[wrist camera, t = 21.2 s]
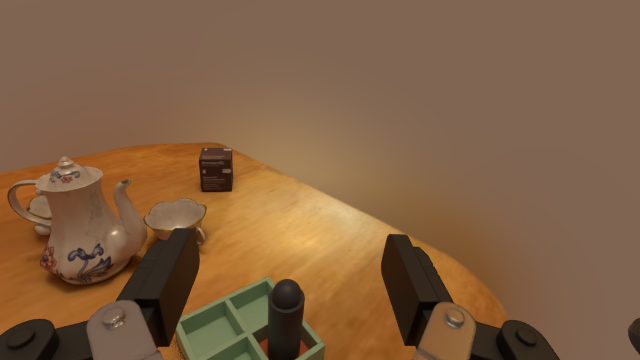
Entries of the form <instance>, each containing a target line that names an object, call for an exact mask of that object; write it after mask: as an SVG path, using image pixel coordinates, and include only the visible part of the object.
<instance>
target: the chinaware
mask: <svg viewBox="0 0 640 360" xmlns="http://www.w3.org/2000/svg"><path fill="white" fill-rule="evenodd" d="M73 163H74V161H72V160H69V158H67V157H62V158H61V159H60V162H59V163H58V167H56V168H55V169H54V170H53V171H52V172H51V173H49V174H47V175H44V176H42V177H41V178H40V179H39V180H23V181H20V182H18V183H16V184H14V185H13V186H11V188H10V189H9V191H8V194H7V198H8V202H9V204H10V206H11V207H12V209H13V210H14V211H15V212H16V213H17V214H19V215H20V216H21V217H23V218H25V219H27V220H29V221H32V222H35V223H39V224H38V225H36V226H35V227H34V229H35V231H36V232H37V233H38V234H41V235H49V234H50V238H49V241H48V243H47V245H46V247H45V249H44V252H43V254H42V256H41V259H40V266H41V267H42V268H43V269H45V270H47V271H50V272H52V273H54V274H56V275H59V276H60V278H61V279H62V280H63V281H64V282H66V283H68V284H72V285H89V284H94V283H98V282H101V281H104V280H106V279H109V278H111V277H113V276H114V275H116V274H118V273H119V272H120V271H122V270H123V269H124V268H125V267H126V266H127V265H128V264H129V262H130V260H131V257H132V256H133V255H134V254H135V253H137V252H138V251H139V249H140V248H141V247H142V246H143V244H144V243H145V241H146V239H147V229H146V225H147V226H148V227H150V228H151V229H152V230H153V231H154V233H155V235H156V236H157V237H158V238H160V239H161V240H168V238H169V236H170V235H171V233H172V231H173V230H174V228H195V229H196V233H197V232H198V231H199V232H200V234H201V236H202V238H203V242H202V243H200V242H198V245H203V244H204V243H205V241H206V236H205V233H204V231H203V230H202V229H201V228H200V226H201V222H202V219H203V218H204V216H205V213H206V209H207V207H206V206H204V205H203V204H197V203H196V202H195V201H193V200H192V199H188V198H181V199H178V200H176V201H174V202H172V203H171V202H161V203H157V204H155V205H154V206H153V207H152V208H151V210H150V212H149V214H150V215H149V214H148V215H146V216H144V219H142V217H141V216H140V214H139V213H138V211H137V210H136V208H135V207H134V205H133V204H132V202H131V201H130V199H129V197H128V195H127V193H126V189H127V187H128V185H129V184H130V183H131V181H130V180H123V181H121V182H120V183H118V184H117V185H116V186H115V188H114V200H115V203H116V206H117V209H118V212H119V214H120V217H121V218H119V217H118V216H117V215H116V214H115V213H114V212H113V210H112V209H111V208H110V206H109V205H108V203H107V202H106V200H105V197H104V195H103V192H102V188H101V177H102V175H103V174H102V171H101V170H99V169H97V168H91V167H83V166H81V165H79V164H73ZM25 185H35V186H36V187H37V188H38V189H36V190H35V192H36V194H38V195H45V196H38V197H36V198H33V199H32V200H31V201H30V203H29V206H28V207H27V211H26V210H25V209H24V208H23V207H22V206H21V205H20V204H19V202H18V200H17V198H16V190H17V189H18V188H19V187H21V186H25ZM145 224H146V225H145Z"/></svg>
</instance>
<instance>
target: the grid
mask: <svg viewBox="0 0 640 360" xmlns="http://www.w3.org/2000/svg"><path fill="white" fill-rule="evenodd" d="M274 286H275V284H274V283H273V282H272V280H271V279H270V278H269V277H268V276H267V277H265V278H263V279H261V280H259V281H257V282H255V283H252V284H250V285H248V286H246V287H244V288H242V289H240V290H238V291H235V292H233V293H231V294H229V295H227V296H225V297H223V298H221V299H218V300H216V301H214V302H212V303H210V304H208V305H206V306H204V307H201V308H199V309H197V310H195V311H193V312H191V313H189V314H187V315H184V316H182V317H180V320H179V322H178V325H177V328H176V330H175V335H176V340H177V342H178V344H179V347H180V349H181V352H182V354H183V356H184V359H185V360H269V359H268V355H267V345H268V296H269V294H270V292H271V291H272V289H273V288H274ZM324 351H325V344H324V343H323V342H322V340H321V339H320V338H319V337H318V336H317V334H316V333H315V332H314V331H313V330H312V328H311V327H310V326H309V325H308V324H307V322H306V321H305V320H304V319H303V322H302V333H301V344H300V355H299V357H298V358H297V359H295V360H323V358H324Z"/></svg>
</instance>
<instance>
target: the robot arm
mask: <svg viewBox="0 0 640 360" xmlns="http://www.w3.org/2000/svg"><path fill="white" fill-rule="evenodd" d="M199 263H200V256H199V248H198V240H197V233H196V229H195V228H174V230H173V231H172V233H171V235H170V236H169V238H168V240H159V241H158V242H157V243H155V244H154V245H153V246H151V247H150V248H149V249H148V251H147V252H146V254H145V255H144V257H143V258H142V261H141V262H140V263H139V265H138V266H137V269H135V271H134V273H133V274H132V276H131V277H130V279H129V281H128V282H127V284H126V285H125V287H124V288H123V290H122V292H121V293H120V295H119V296H118V298H117V299H116V301H115V302H112V303H109V304H107V305H105V306H103V307H102V308H100V309H99V310H97V311H96V312H95V313H94V314H93V315H92V316H91V318H90V319H89V320H88V321H84V322H81V323H77V324H73V325H68V326H64V327H60V328H56V329H55V327H54V325H53V324H52V322H50V321H49V320H46V319H34V320H29V321H26V322H23V323H20V324H18V325H16V326H14V327H12V328H10V329H9V330H7V331H6V332H4V333H3V334H2V335H0V360H164V359H163V357H162V355H161V353H160V351H159V350H157V348H158V347H169V346H170V343H171V341H172V338H173V335H174V333H175V330H176V328H177V325H178V322H179V320H180V317H181V315H182V312H183V309H184V307H185V304H186V302H187V299H188V296H189V294H190V291H191V289H192V286H193V284H194V281H195V278H196V276H197V273H198V270H199ZM381 273H382V277H383V280H384V283H385V286H386V289H387V292H388V295H389V298H390V302H391V305H392V308H393V311H394V314H395V317H396V320H397V323H398V326H399V329H400V332H401V335H402V338H403V341H404V345H405V346H415V347H416V349H417V350H416V352H415V355H414V357H413V360H560V359H559V357H558V356H557V355H556V353H555V352H554V350H553V349H552V348H551V346H550V345H549V343H548V342H547V340H546V339H545V338H544V337H543V336H542V334H541V333H539V332H538V331H537V330H536V329H534V328H533V327H532V326H530V325H528V324H526V323H524V322H521V321H517V320H508V321H506V322H504V323H503V325H502V327H501V328H497V327H493V326H490V325H486V324H483V323H480V322H477V321H475V320H474V318H473V317H472V315H471V314H470V313H469V312H468V311H467V310H466V309H464V308H463V307H461V306H459V305H457V304H455V303H454V302H453V300H452V298H451V297H450V295H449V293H448V291H447V289H446V287H445V286H444V284H443V282H442V280H441V278H440V276H439V275H438V274H437V271H436V269H435V267H433V263H432V262H431V260H430V258H429V256H428V255H427V254H426V253H425V252H424V251H423V250H422V249H421V248H420V247H413V245H412V243H411V241H410V239H409V237H408V236H407V235H401V234H389V235H388V236H387V240H386V244H385V248H384V253H383V257H382V261H381Z"/></svg>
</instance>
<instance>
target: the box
mask: <svg viewBox="0 0 640 360" xmlns="http://www.w3.org/2000/svg"><path fill="white" fill-rule="evenodd" d="M199 168H200V178H201V189H202V191H232V180H233V166H232V149H228V148H202V152H201V155H200V157H199Z"/></svg>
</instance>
